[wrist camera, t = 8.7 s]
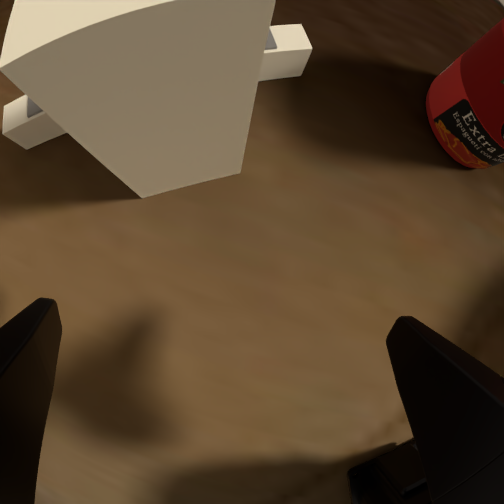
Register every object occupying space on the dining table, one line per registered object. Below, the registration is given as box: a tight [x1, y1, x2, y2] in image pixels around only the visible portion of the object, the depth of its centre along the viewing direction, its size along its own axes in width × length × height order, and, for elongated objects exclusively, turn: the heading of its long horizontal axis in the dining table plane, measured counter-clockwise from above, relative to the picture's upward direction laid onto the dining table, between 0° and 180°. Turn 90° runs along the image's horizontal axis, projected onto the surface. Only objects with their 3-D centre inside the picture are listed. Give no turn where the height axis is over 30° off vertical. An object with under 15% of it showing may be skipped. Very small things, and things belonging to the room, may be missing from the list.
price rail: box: [2, 24, 312, 150], centre depth 16 cm, size 2×18×3 cm, turn 104°
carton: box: [0, 0, 276, 198], centre depth 11 cm, size 5×6×13 cm
